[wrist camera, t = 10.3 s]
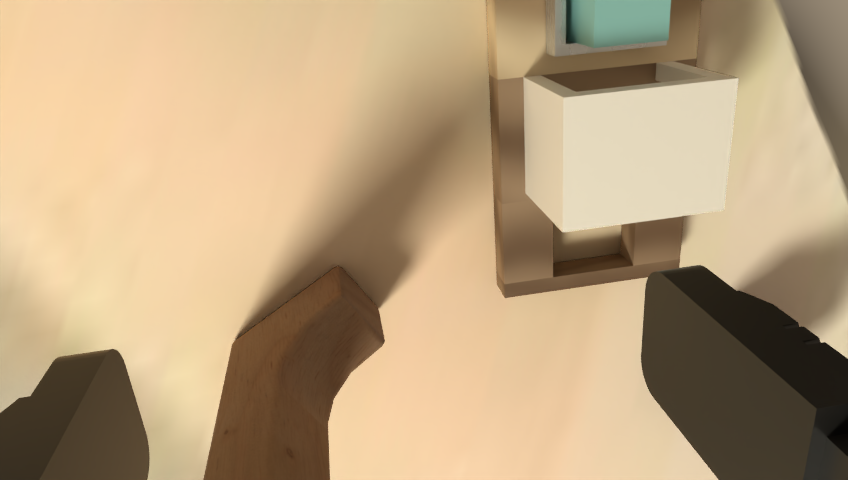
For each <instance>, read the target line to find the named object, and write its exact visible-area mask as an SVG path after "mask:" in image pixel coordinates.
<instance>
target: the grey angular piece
mask: <svg viewBox="0 0 848 480" xmlns="http://www.w3.org/2000/svg"><path fill="white" fill-rule="evenodd" d="M663 45H667V41H658V42H648V43H638V44H629V45H619V46H609V47H600V48H592V47H588V46H585V45H581V44H578V43H574V42H571V41H567V40H566V0H546V54H549V55H551V56H554V57H558V56H567V55H577V54H587V53H596V52H606V51H615V50H625V49H635V48H644V47H654V46H663Z"/></svg>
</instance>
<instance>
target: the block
mask: <svg viewBox="0 0 848 480" xmlns="http://www.w3.org/2000/svg"><path fill="white" fill-rule="evenodd" d="M670 8H671V0H566V40H567V41H571V42H574V43H578V44H581V45H585V46H588V47H592V48H600V47H609V46H619V45H629V44H638V43H648V42H658V41H667V40H668V38H669V23H670Z"/></svg>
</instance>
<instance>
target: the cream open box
mask: <svg viewBox="0 0 848 480" xmlns="http://www.w3.org/2000/svg"><path fill="white" fill-rule="evenodd" d="M523 80H524V137H525V193H526V194H527V195H528V197H529V198H530V199H531V200H532V201H533V202H534V203H535V204H536V205H537V206H538V207H539V208H540V209H541V210H542V211H543V212H544V213H545V214H546V216H547V217H548V218H549V219H550V220H551V221H552V222H553V223H554V224H555V225H556V226H557V227H558V228H559V229H560V230H561V231H562V232H570V231H578V230H585V229H592V228H600V227H607V226H614V225H622V224H629V223H636V222H644V221H651V220H659V219H666V218H673V217H681V216H688V215H695V214H703V213H710V212H717V211H724V207H725V198H726V189H727V180H728V171H729V162H730V153H731V143H732V134H733V125H734V116H735V107H736V98H737V89H738V80H739V78H736V77H732V76H729V75H725V74H721V73H717V72H713V71H709V70H705V69H701V68H698V67H694V66H690V65H686V64H682V63H678V62H674V61H668V62H659V63H656V78H655V80H656V81H659V82H660V83H651V84H642V85H633V86H624V87H615V88H606V89H597V90H588V91H579V92H575V91H573V90H571V89H569V88H567V87H564V86H562V85H560V84H558V83H556V82H554V81H552V80H550V79H547V78H545V77H543V76H541V75H538V76H529V77H523Z"/></svg>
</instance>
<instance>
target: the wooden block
mask: <svg viewBox="0 0 848 480" xmlns="http://www.w3.org/2000/svg"><path fill="white" fill-rule="evenodd" d="M384 342H385V340H384V335H383V330H382V325H381V319H380V314H379V310H378V308H377V306H376V305H375V304H374V303H373V302H372V301H371V300H370V299H369V297H368V296H367V295H366V294H365V293H364V292H363V291H362V289H361V288H360V287H359V286H358V285H357V284H356V283H355V282H354V280H353V279H352V278H351V277H350V276H349V275H348V274H347V273H346V271H345V270H344V269H343V268H341V267H339V266H338V267H335V268H333V269H332V270H331V271H329V272H328V273H326V274H325V275H324V276H322V277H321V278H320V279H318V280H317V281H316V282H314V283H313V284H311V285H310V286H309V287H307V288H306V289H305V290H303V291H302V292H301V293H299V294H298V295H296V296H295V297H294V298H292V299H291V300H290V301H288V302H287V303H286V304H284V305H283V306H281V307H280V308H279V309H277V310H276V311H275V312H273V313H272V314H271V315H269V316H268V317H267V318H265V319H264V320H262V321H261V322H260V323H258V324H257V325H256V326H254V327H253V328H252V329H250V330H249V331H247V332H246V333H245V334H243V335H242V336H241V337H239V338H238V339H237V340H235V341H234V343H233V344H232V348H231V353H230V357H229V362H228V367H227V371H226V376H225V381H224V386H223V390H222V395H221V400H220V404H219V409H218V414H217V418H216V423H215V428H214V433H213V437H212V442H211V447H210V451H209V456H208V461H207V466H206V470H205V475H204V480H330V470H329V441H328V421H329V417H330V412H331V408H332V404H333V400H334V398H335V396H336V395H337V393H338V392H339V390H340V388H341V387H342V385H343V384H344V382H345V381H346V379H347V378H348V376H349V375H350V373H351V372H352V371H353V370H354V369H356V368H357V367H358V366H359V365H360V364H362V363H363V362H364V361H365V360H366V359H367V358H369V357H370V356H371V355H372V354H373V353H374V352H376V351H377V350H378V349H379V348H380V347H382V345H383V344H384Z"/></svg>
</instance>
